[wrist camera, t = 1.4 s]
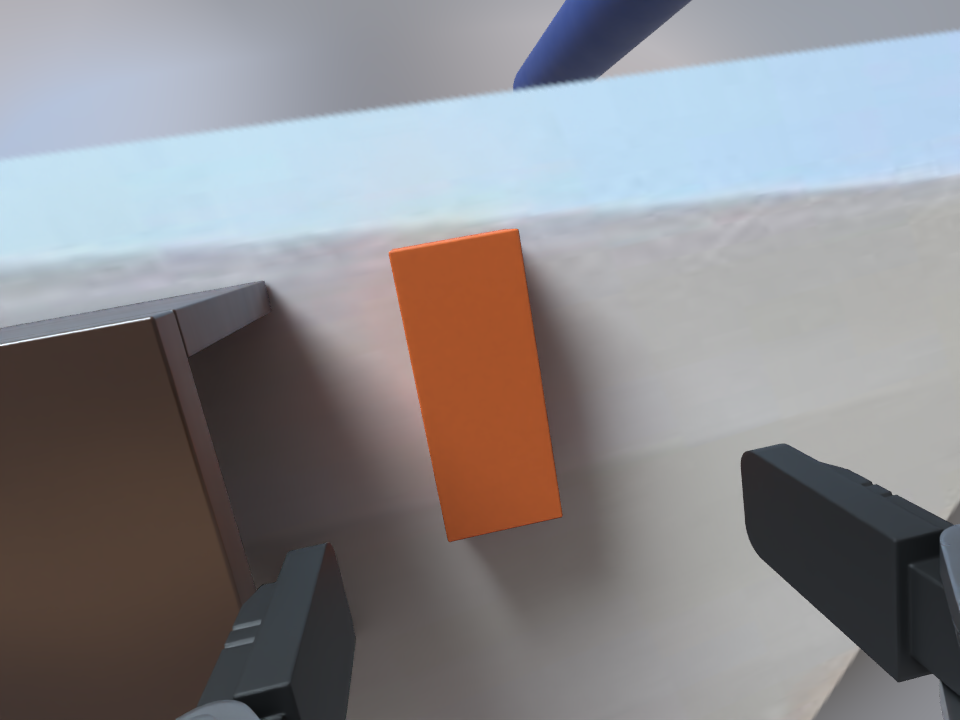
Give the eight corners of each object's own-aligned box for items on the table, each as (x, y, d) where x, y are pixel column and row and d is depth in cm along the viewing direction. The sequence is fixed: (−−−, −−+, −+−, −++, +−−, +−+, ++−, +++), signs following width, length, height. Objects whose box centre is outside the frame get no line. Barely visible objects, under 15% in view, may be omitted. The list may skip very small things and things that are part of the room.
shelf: (-68, 340, 21) (-699, 480, 9) (264, 280, 22) (90, 335, 10) (76, 703, 25) (-240, 1148, 13) (356, 638, 26) (310, 996, 14)
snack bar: (390, 249, 23) (388, 251, 20) (504, 229, 23) (518, 228, 20) (443, 507, 25) (448, 542, 22) (545, 485, 25) (563, 517, 22)
